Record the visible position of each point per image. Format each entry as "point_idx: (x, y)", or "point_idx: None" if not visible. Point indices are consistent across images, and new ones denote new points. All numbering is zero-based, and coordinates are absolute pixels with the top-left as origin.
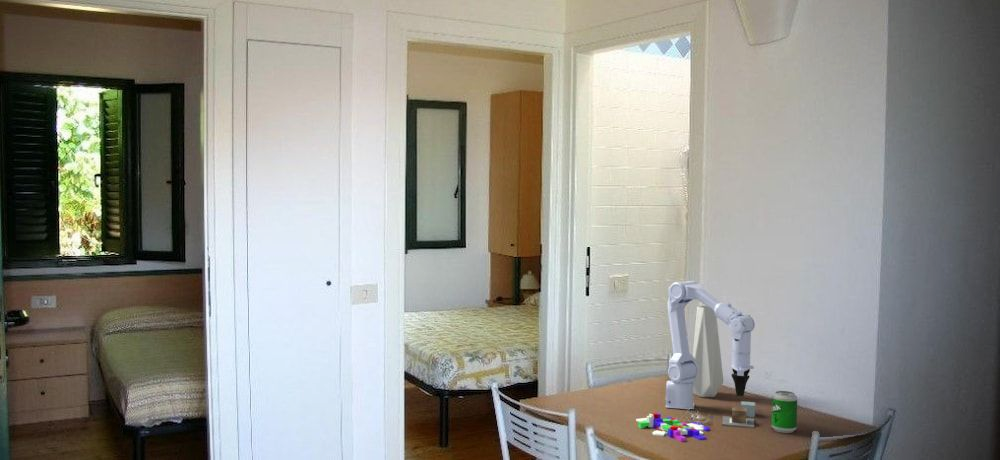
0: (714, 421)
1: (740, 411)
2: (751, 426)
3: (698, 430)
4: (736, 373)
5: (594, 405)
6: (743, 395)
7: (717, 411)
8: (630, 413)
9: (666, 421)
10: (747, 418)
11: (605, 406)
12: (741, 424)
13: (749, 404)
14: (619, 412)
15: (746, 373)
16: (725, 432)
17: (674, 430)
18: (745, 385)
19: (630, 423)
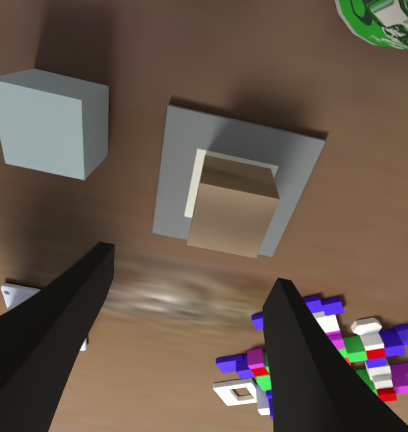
0: (218, 265)
1: (269, 224)
2: (319, 154)
3: (381, 340)
4: (43, 427)
5: (116, 428)
6: (293, 284)
7: (65, 231)
8: (165, 400)
9: None
10: (171, 140)
11: (117, 419)
12: (282, 191)
13: (64, 131)
14: (161, 411)
15: (20, 384)
16: (370, 260)
17: (398, 392)
18: (347, 363)
19: (252, 409)
